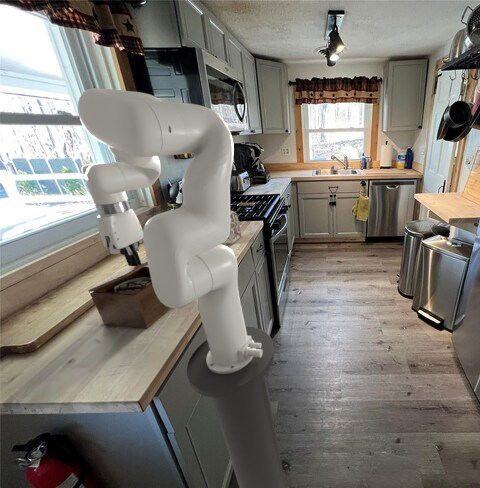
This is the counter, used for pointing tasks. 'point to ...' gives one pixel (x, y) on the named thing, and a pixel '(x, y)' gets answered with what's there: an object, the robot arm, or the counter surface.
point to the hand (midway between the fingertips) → (135, 264)
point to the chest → (129, 303)
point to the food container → (132, 285)
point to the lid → (120, 275)
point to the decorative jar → (233, 229)
